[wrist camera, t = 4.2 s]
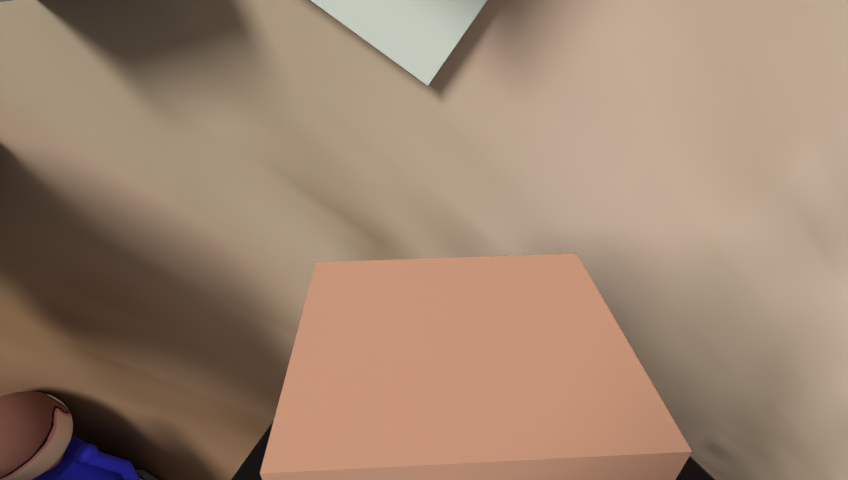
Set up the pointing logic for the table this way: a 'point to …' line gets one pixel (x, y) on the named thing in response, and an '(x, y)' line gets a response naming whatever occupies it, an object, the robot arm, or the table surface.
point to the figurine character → (51, 444)
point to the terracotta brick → (466, 378)
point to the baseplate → (408, 28)
